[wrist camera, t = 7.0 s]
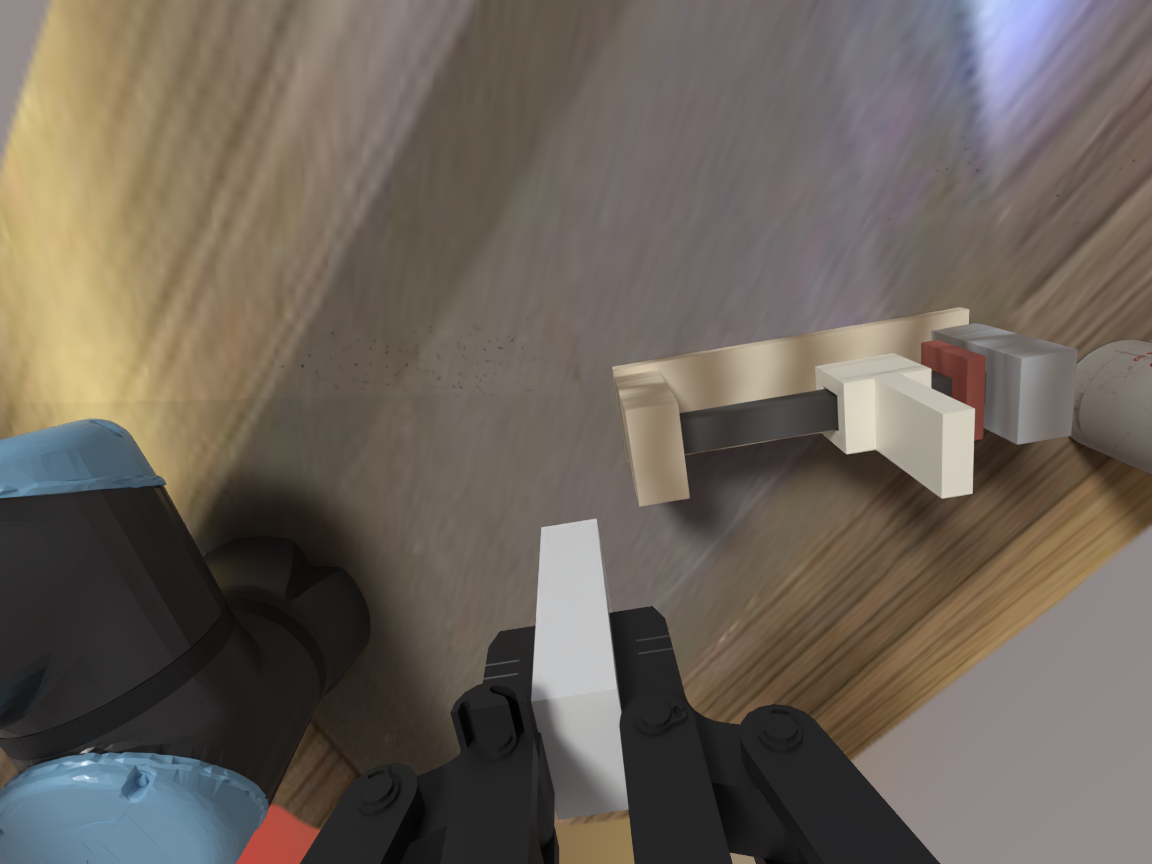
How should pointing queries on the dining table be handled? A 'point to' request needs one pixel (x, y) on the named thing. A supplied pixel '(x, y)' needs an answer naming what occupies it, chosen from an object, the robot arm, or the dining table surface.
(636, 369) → the rail
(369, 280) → the dining table surface
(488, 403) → the dining table surface
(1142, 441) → the thermos bottle
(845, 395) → the cream t-shaped block
